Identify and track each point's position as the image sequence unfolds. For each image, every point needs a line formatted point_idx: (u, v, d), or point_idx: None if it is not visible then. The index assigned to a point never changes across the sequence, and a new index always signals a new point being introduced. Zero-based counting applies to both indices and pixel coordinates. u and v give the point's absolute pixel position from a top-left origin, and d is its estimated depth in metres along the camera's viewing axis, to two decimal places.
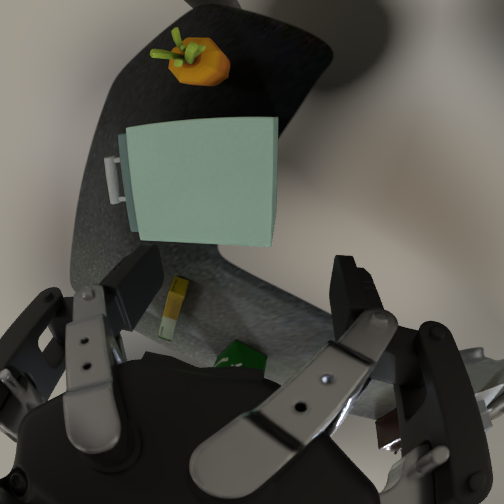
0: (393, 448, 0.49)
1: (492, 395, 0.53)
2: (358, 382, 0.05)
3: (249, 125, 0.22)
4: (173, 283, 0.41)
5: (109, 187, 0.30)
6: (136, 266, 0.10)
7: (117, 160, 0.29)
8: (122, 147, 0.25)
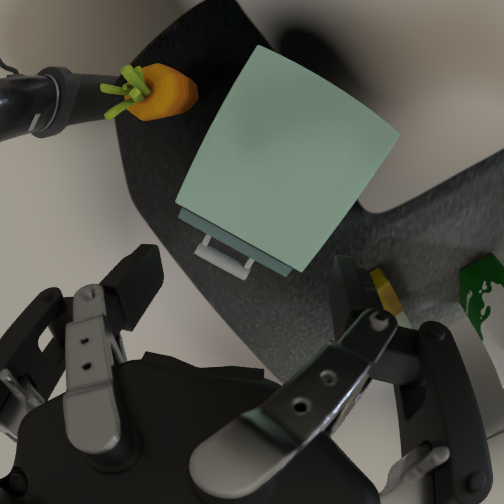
0: None
1: None
2: (358, 382, 0.05)
3: (253, 70, 0.17)
4: None
5: (227, 268, 0.29)
6: (136, 266, 0.10)
7: (206, 241, 0.28)
8: (193, 221, 0.24)
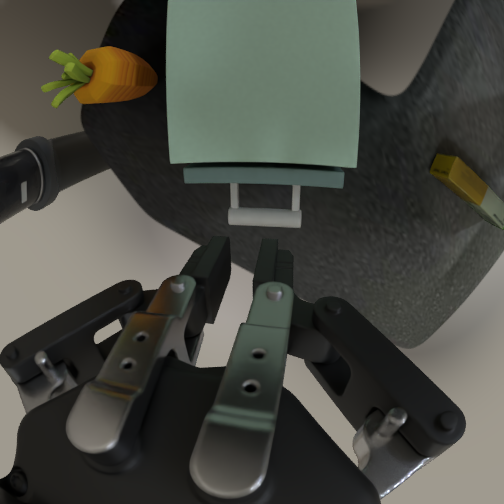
0: None
1: None
2: (286, 348, 0.06)
3: (177, 0, 0.12)
4: (438, 172, 0.22)
5: (273, 222, 0.22)
6: (218, 257, 0.11)
7: (234, 201, 0.22)
8: (202, 176, 0.19)
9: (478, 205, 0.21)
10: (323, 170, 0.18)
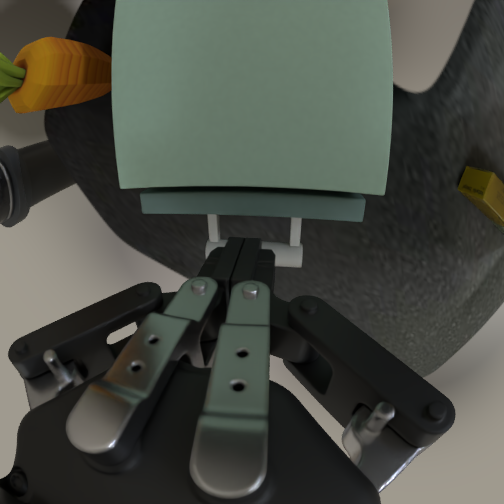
0: None
1: None
2: (269, 344, 0.06)
3: None
4: (469, 191, 0.16)
5: None
6: (237, 259, 0.11)
7: (213, 233, 0.17)
8: (165, 204, 0.13)
9: None
10: (336, 196, 0.12)
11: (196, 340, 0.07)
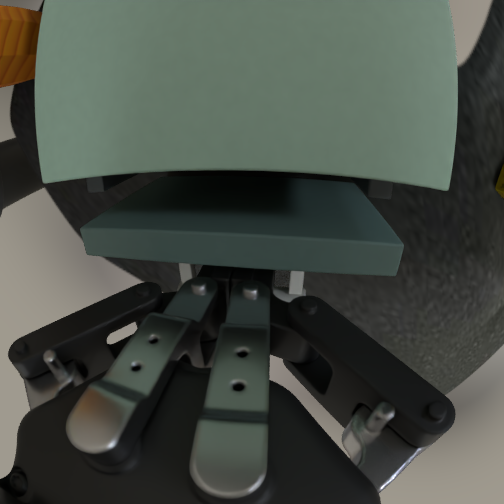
0: None
1: None
2: (269, 344, 0.06)
3: None
4: None
5: None
6: None
7: (186, 275, 0.12)
8: (111, 246, 0.09)
9: None
10: (361, 240, 0.08)
11: (196, 340, 0.07)
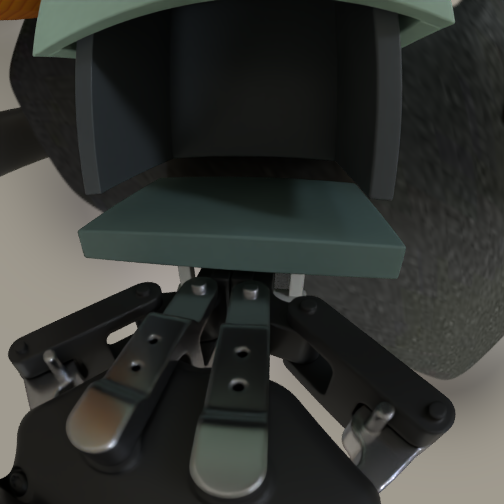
0: None
1: None
2: (269, 344, 0.06)
3: None
4: None
5: None
6: None
7: (185, 277, 0.12)
8: (109, 248, 0.09)
9: None
10: (362, 242, 0.08)
11: (196, 340, 0.07)
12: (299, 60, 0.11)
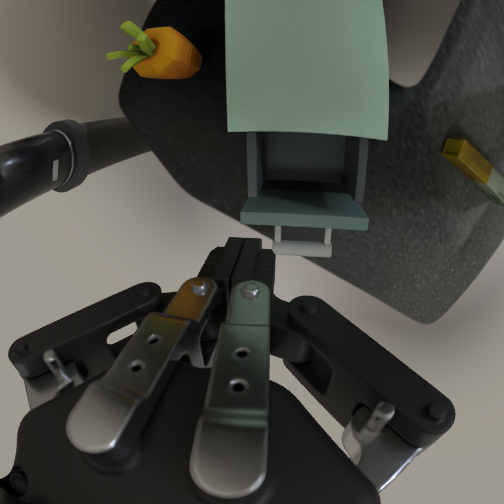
0: None
1: None
2: (269, 344, 0.06)
3: None
4: (449, 154, 0.23)
5: (309, 253, 0.27)
6: (237, 258, 0.11)
7: (278, 236, 0.27)
8: (257, 219, 0.24)
9: (485, 183, 0.22)
10: (353, 217, 0.23)
11: (196, 340, 0.07)
12: (328, 135, 0.26)
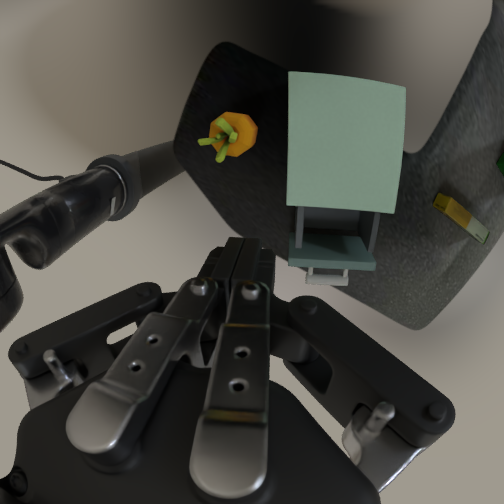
0: None
1: None
2: (269, 344, 0.06)
3: (296, 90, 0.24)
4: (438, 207, 0.33)
5: (332, 283, 0.37)
6: (237, 259, 0.11)
7: (311, 271, 0.37)
8: (300, 263, 0.34)
9: (464, 228, 0.33)
10: (365, 262, 0.33)
11: (196, 340, 0.07)
12: None
